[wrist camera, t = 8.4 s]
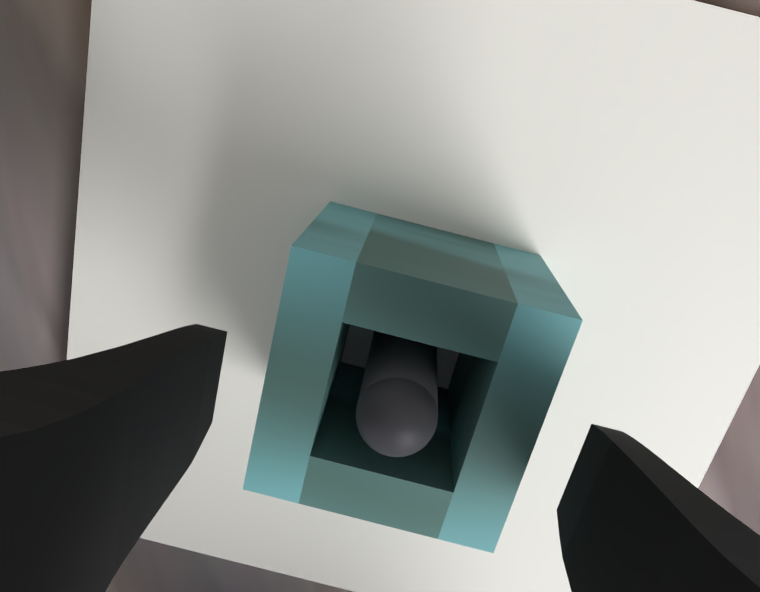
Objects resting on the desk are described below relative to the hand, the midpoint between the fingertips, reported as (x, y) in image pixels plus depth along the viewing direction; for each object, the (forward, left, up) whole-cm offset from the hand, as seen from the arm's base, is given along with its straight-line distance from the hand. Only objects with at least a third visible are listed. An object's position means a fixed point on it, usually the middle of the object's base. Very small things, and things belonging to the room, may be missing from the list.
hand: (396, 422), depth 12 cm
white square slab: (0, 0, -6) cm, 6 cm away
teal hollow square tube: (0, 0, -5) cm, 5 cm away
